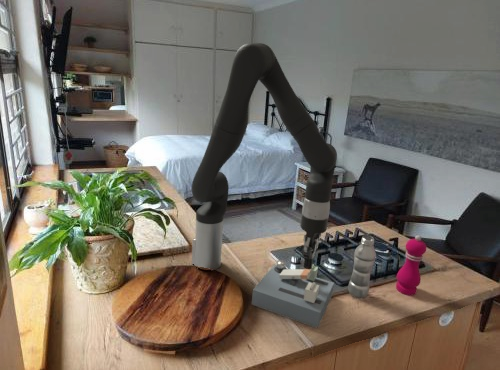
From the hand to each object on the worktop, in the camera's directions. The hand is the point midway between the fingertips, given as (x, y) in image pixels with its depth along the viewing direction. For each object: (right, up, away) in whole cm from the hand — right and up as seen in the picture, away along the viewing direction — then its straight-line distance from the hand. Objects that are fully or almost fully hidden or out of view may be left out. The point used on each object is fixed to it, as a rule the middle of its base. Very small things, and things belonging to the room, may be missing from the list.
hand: (307, 267), depth 106 cm
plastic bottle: (+17, -11, +8) cm, 22 cm away
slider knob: (0, -8, -5) cm, 9 cm away
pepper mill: (+35, -11, +13) cm, 39 cm away
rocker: (-3, -3, +3) cm, 5 cm away
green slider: (+2, -5, +5) cm, 7 cm away
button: (-7, -3, +9) cm, 12 cm away
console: (-4, -10, +2) cm, 11 cm away
